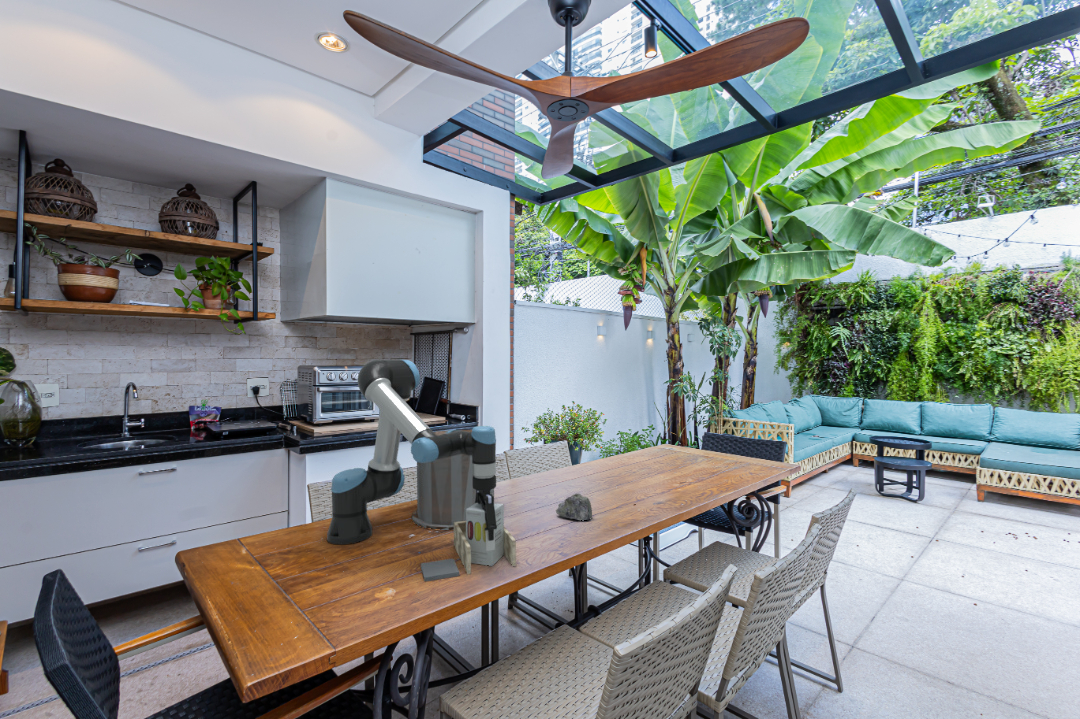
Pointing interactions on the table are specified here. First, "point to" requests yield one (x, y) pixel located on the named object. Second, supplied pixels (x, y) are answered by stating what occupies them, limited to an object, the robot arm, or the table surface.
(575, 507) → the mineral rock
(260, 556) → the table surface
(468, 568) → the shelf bay
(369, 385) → the robot arm
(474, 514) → the supplement box
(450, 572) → the plate
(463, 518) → the grey streaked cylinder
